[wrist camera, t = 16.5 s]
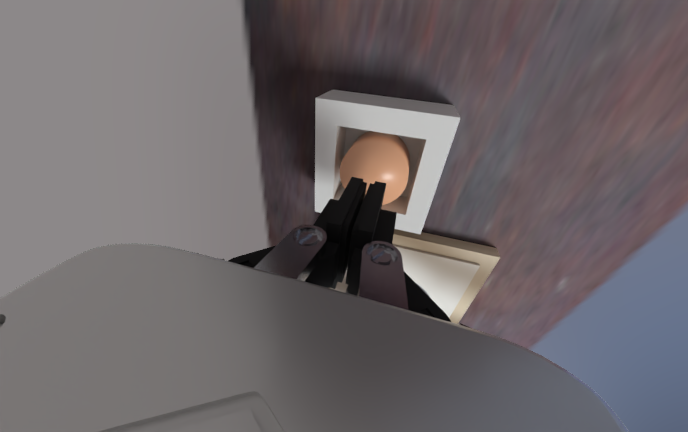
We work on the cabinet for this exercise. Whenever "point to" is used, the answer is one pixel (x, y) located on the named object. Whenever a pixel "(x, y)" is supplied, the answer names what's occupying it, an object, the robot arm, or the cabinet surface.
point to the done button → (378, 163)
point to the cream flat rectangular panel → (443, 268)
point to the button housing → (392, 118)
